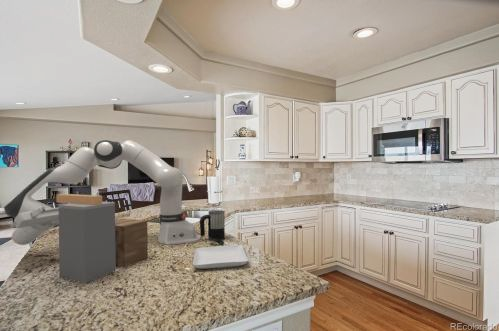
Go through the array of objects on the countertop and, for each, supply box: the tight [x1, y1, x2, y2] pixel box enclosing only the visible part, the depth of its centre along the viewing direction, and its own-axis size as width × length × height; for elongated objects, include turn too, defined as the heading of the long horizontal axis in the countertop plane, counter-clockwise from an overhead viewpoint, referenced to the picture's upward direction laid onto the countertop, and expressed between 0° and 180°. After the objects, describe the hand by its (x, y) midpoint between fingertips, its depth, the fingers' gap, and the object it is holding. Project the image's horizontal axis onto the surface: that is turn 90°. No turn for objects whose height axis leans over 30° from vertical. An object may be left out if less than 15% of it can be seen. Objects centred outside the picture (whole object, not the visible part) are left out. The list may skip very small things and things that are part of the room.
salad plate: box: [192, 244, 249, 270], centre depth 111 cm, size 21×21×3 cm
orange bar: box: [56, 193, 103, 205], centre depth 101 cm, size 22×3×3 cm, turn 66°
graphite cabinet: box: [58, 201, 117, 284], centre depth 99 cm, size 14×12×26 cm
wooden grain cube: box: [115, 218, 149, 268], centre depth 113 cm, size 14×12×16 cm
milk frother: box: [199, 209, 226, 245], centre depth 140 cm, size 14×16×15 cm
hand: (55, 207), depth 107 cm, fingers open, 8 cm apart
